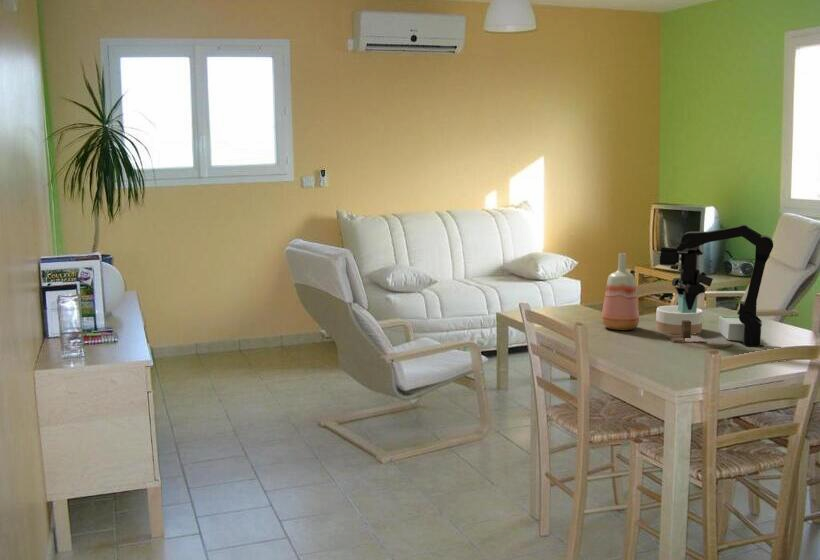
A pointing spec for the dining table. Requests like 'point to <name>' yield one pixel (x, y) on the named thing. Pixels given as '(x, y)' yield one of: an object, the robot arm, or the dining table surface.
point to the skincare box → (731, 328)
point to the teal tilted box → (683, 306)
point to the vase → (620, 299)
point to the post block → (682, 332)
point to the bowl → (677, 320)
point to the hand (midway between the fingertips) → (687, 308)
